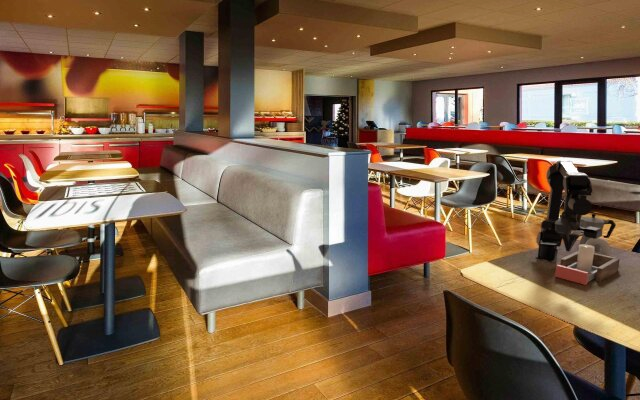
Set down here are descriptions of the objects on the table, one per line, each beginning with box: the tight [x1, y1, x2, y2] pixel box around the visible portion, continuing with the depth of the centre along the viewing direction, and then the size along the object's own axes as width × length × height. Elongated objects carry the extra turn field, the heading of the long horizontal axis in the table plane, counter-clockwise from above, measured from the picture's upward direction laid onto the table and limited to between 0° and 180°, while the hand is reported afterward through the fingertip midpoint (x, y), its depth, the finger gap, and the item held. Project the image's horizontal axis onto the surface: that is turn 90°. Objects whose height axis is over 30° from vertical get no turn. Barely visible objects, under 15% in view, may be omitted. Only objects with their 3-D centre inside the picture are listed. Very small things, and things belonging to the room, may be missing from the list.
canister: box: [576, 243, 595, 273], centre depth 176 cm, size 5×5×10 cm
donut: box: [585, 237, 612, 256], centre depth 193 cm, size 10×4×10 cm, turn 40°
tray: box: [554, 262, 598, 286], centre depth 174 cm, size 11×17×4 cm, turn 130°
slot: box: [559, 251, 621, 282], centre depth 180 cm, size 15×18×5 cm
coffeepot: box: [576, 212, 617, 252], centre depth 201 cm, size 15×9×18 cm, turn 70°
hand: (568, 251), depth 164 cm, fingers closed
